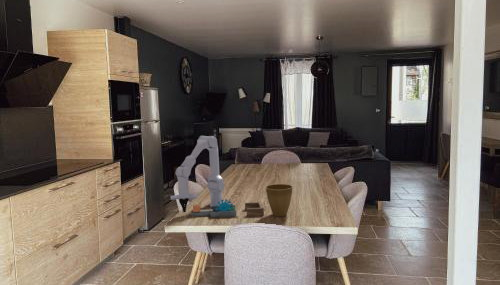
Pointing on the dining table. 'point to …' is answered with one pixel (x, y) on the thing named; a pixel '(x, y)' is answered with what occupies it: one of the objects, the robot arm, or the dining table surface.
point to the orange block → (197, 209)
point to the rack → (254, 209)
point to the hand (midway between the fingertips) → (184, 211)
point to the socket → (216, 213)
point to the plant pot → (279, 198)
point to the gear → (225, 206)
